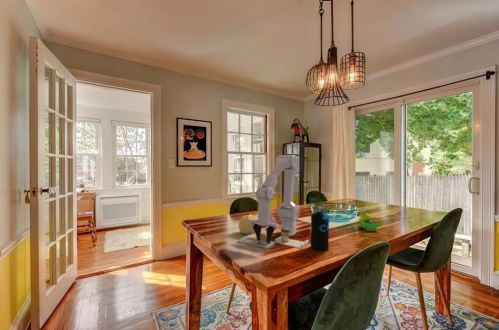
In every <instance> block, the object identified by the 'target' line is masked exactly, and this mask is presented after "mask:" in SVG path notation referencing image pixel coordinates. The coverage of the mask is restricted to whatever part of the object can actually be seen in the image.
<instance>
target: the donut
mask: <svg viewBox="0 0 499 330" xmlns="http://www.w3.org/2000/svg"><path fill="white" fill-rule="evenodd" d="M256 216H257V217H258V215H256ZM270 222H274V223H276V222H277V221H276V218H275V216H271V215H270ZM262 228H267V227H266V226H262Z"/></svg>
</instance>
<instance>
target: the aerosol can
mask: <svg viewBox="0 0 499 330" xmlns="http://www.w3.org/2000/svg"><path fill="white" fill-rule="evenodd" d="M310 219H311V220H310V222H311V223H310V225H311V226H310V249H311V250H313V251H316V252H327V251H329V246H330V245H329V241H330V240H329V239H330V237H329V235H330V233H329V231H330V230H329V229H330V216H329V214H327V213H326V212H324V211H323V207H322V206H318V207H317V211H315V212H313V213H312V214H310Z"/></svg>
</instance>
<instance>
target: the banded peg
mask: <svg viewBox="0 0 499 330" xmlns="http://www.w3.org/2000/svg"><path fill="white" fill-rule="evenodd" d="M259 244H260V245H265V246H267V245H268V244H269V243H267V233H264V232H263V233H262V232H261V234H260V243H259Z"/></svg>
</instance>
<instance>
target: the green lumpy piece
mask: <svg viewBox="0 0 499 330" xmlns="http://www.w3.org/2000/svg"><path fill="white" fill-rule="evenodd" d="M359 216H360V218H358V220H359V224H360V228H362V227H363V228H362V229H364V230H365V229H366V230H365V231H366V232H376V231H377V229H378V227H379V225H380V223H379V222H378V221H375V220H373V219H371V215H370V214H369V213H367V212H366V210H362V211H360V213H359Z"/></svg>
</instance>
